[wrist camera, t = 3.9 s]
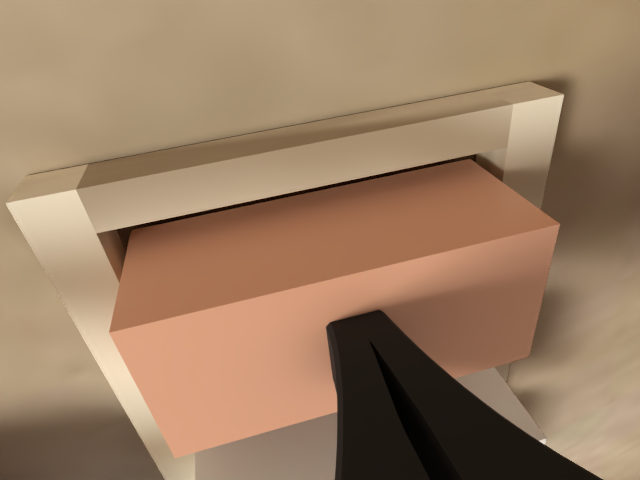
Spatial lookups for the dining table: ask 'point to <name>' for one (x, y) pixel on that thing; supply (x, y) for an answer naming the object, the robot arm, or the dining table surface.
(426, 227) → the terracotta key
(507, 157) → the wooden tray
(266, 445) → the ivory key
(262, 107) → the dining table surface
